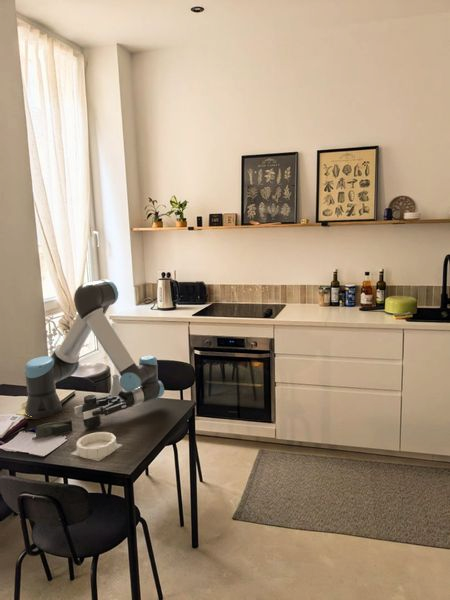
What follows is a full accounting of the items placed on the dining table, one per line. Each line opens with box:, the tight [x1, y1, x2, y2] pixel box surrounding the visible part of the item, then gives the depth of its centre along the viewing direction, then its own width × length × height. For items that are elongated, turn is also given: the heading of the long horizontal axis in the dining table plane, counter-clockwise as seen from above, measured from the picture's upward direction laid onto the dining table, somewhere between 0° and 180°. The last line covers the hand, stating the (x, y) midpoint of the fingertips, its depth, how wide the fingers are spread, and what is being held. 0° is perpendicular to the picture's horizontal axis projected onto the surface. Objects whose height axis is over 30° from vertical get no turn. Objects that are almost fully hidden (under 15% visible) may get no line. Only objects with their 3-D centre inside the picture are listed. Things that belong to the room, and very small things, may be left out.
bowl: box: [75, 431, 117, 460], centre depth 170 cm, size 13×13×4 cm
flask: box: [108, 374, 124, 397], centre depth 224 cm, size 7×7×10 cm
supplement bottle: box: [81, 394, 102, 430], centre depth 187 cm, size 7×7×12 cm
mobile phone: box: [31, 419, 73, 440], centre depth 184 cm, size 5×3×15 cm
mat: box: [70, 442, 123, 462], centre depth 170 cm, size 13×13×1 cm
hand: (79, 413), depth 184 cm, fingers closed on supplement bottle, 7 cm apart
